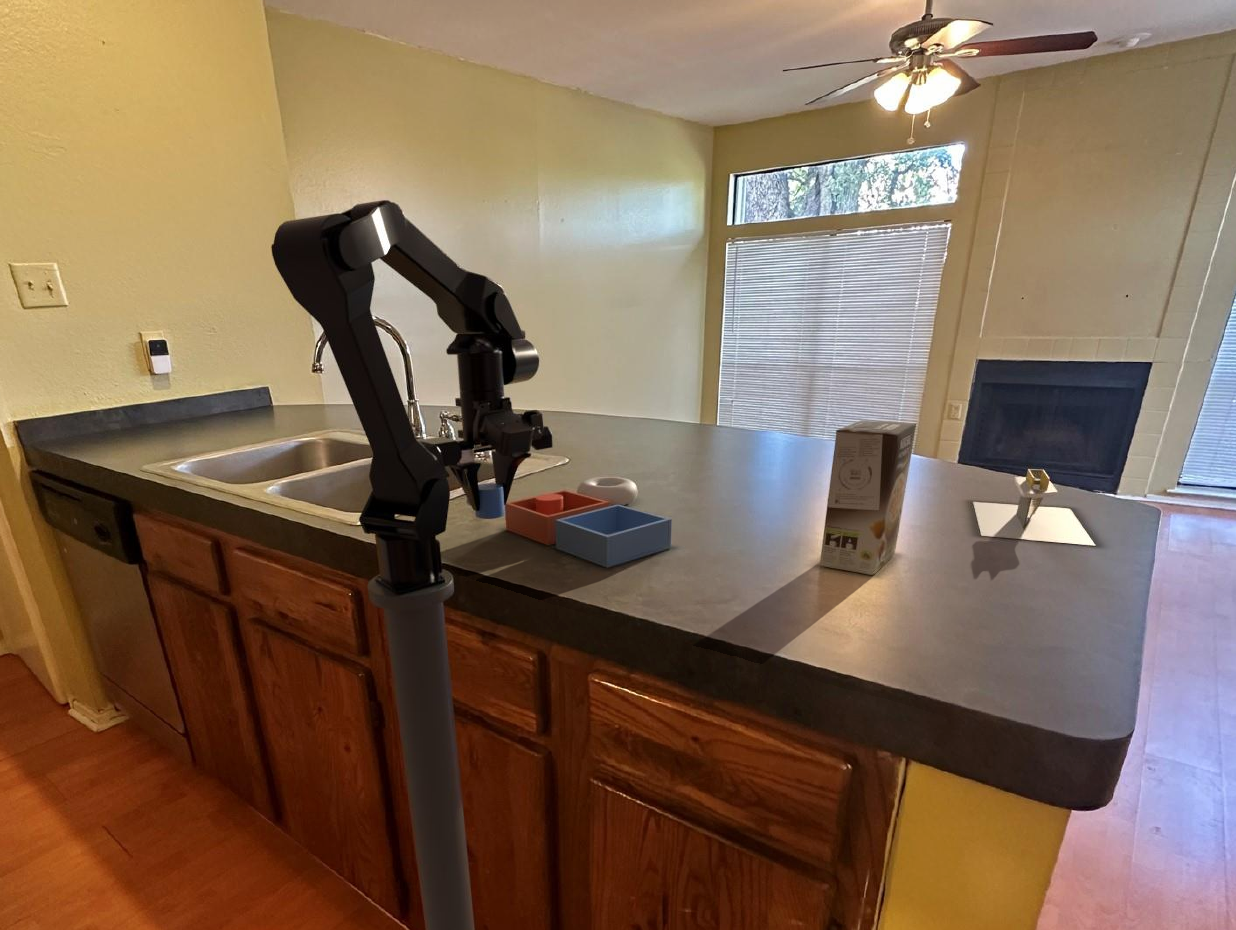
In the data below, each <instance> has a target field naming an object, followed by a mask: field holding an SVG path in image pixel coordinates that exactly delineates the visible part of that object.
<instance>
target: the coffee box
mask: <svg viewBox="0 0 1236 930" xmlns="http://www.w3.org/2000/svg"><path fill="white" fill-rule="evenodd" d="M916 429H917V423H916V422H905V421H901V422H900V421H887V420H886V421H884V420H877V421H875V420H874V421H873V420H859V421H856V422H854V423H851V424H849V425H847V426H843V427H841V428H838V429H836V430H835V440H834V448H833V449H834V450H833V454H832V455H833V456H832V464H831V473H830V480H829V489H828V496H827V504H826V511H825V512H826V513H825V520H824V527H823V535H822V542H821V543H822V544H821V551H820V558H819V559H820V560H819V565H820V566H821V567H824V568H832V569H837V570H842V571H849V572H854V573H859V574H864V575H870V576H873V575H875V574H876V573H877V572H878V571H879V570H880V569H881V568H883V566H885V565H886V563H887V562H889V561H890V559H892V558H893V557H894V556H895V555H896V549H897V544H898V539H899V533H900V525H901V520H902V513H903V508H904V502H905V501H904V500H905V495H906V491H907V490H906V489H907V483H908V477H909V472H910V471H909V470H910V465H911V459H912V453H913V447H914V441H915V436H916V435H915V434H916Z"/></svg>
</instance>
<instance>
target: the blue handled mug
mask: <svg viewBox="0 0 1236 930" xmlns="http://www.w3.org/2000/svg"><path fill="white" fill-rule="evenodd" d="M478 487H479V498H480V509H479V511H475V510H474V513H475V517H476V518H477V519H481V520H493V519H499V518H502V517H504V516H505V505H504V494H503V485H501V484H497V483H494V482H486V483H480V484H479V483H478ZM466 504H467V505H468V506H470V507H472V506H471V504H470V503H469V501H468V499H467V498H466Z"/></svg>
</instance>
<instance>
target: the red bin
mask: <svg viewBox="0 0 1236 930" xmlns="http://www.w3.org/2000/svg"><path fill="white" fill-rule="evenodd" d="M548 494H559V495H562V496H563V512H561V513H556V514H552V515H548V516H547V515H544V514H541V513H538V512H536V500H535V498H536V496H537V495H535V496H531V497H525V498H522V499H518V500H513V501H507V502H506V505H504V512H505V514H504V516H505V530H506V531H509V532H511V533H514V534H517V535H520V536H522V537H525V538H528V539H530V540H533V541H536V542H538V543H541V544H544V545H545V546H551V545H556V520H558V519H562V518H566V517H570V516H574V515H578V514H582V513H586V512H590V511H594V510H598V509H602V508H606V507H609V502H607V501H604V500H600V499H596V498H593V497H589V496H585V495H582V494H578V493H577V492H573V491H570V490H567V489H564V490H558V491H553V492H549V493H548Z"/></svg>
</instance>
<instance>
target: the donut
mask: <svg viewBox="0 0 1236 930" xmlns="http://www.w3.org/2000/svg"><path fill="white" fill-rule="evenodd" d="M576 493H578V494H582V495H585V496H589V497H593V498H596V499H600V500H604V501H607V502H609V507H610V506H614V505H622V506H626V505H629V504H631V503H632V502H633V501H634V500H635V499H636V498H637V496H638V493H639V492H638V487H637V485H636V483H635V482H634V481H632V480H631V479H628V478H623V477H618V476H599V477H591V478H588V479H586V480H583V481H581V482H580V483H579V485H578V486H577V488H576Z"/></svg>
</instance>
